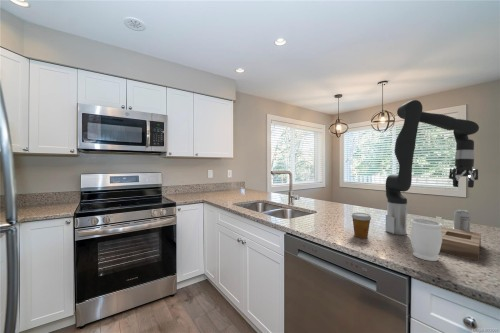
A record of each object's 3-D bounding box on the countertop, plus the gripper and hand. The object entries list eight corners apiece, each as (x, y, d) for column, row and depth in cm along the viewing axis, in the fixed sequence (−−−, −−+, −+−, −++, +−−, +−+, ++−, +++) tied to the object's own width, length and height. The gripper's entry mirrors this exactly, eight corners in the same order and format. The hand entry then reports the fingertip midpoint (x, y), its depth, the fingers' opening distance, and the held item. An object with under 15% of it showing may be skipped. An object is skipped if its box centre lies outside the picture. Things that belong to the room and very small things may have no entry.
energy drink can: (464, 237, 115) (464, 209, 115) (472, 241, 109) (473, 212, 109) (450, 236, 116) (451, 209, 116) (458, 240, 111) (459, 211, 110)
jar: (403, 252, 95) (404, 218, 95) (425, 251, 96) (425, 218, 96) (425, 263, 85) (425, 225, 84) (449, 262, 85) (449, 225, 85)
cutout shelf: (478, 260, 87) (479, 246, 87) (433, 250, 98) (434, 237, 98) (480, 245, 103) (480, 233, 103) (441, 238, 114) (442, 226, 113)
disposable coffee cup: (370, 235, 118) (370, 213, 117) (371, 240, 109) (372, 217, 109) (351, 232, 122) (351, 211, 121) (351, 237, 113) (351, 215, 113)
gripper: (469, 158, 123) (468, 186, 123) (445, 158, 123) (444, 186, 123) (484, 158, 115) (482, 188, 116) (458, 157, 115) (457, 187, 115)
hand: (463, 187), depth 119 cm, fingers open, 8 cm apart
